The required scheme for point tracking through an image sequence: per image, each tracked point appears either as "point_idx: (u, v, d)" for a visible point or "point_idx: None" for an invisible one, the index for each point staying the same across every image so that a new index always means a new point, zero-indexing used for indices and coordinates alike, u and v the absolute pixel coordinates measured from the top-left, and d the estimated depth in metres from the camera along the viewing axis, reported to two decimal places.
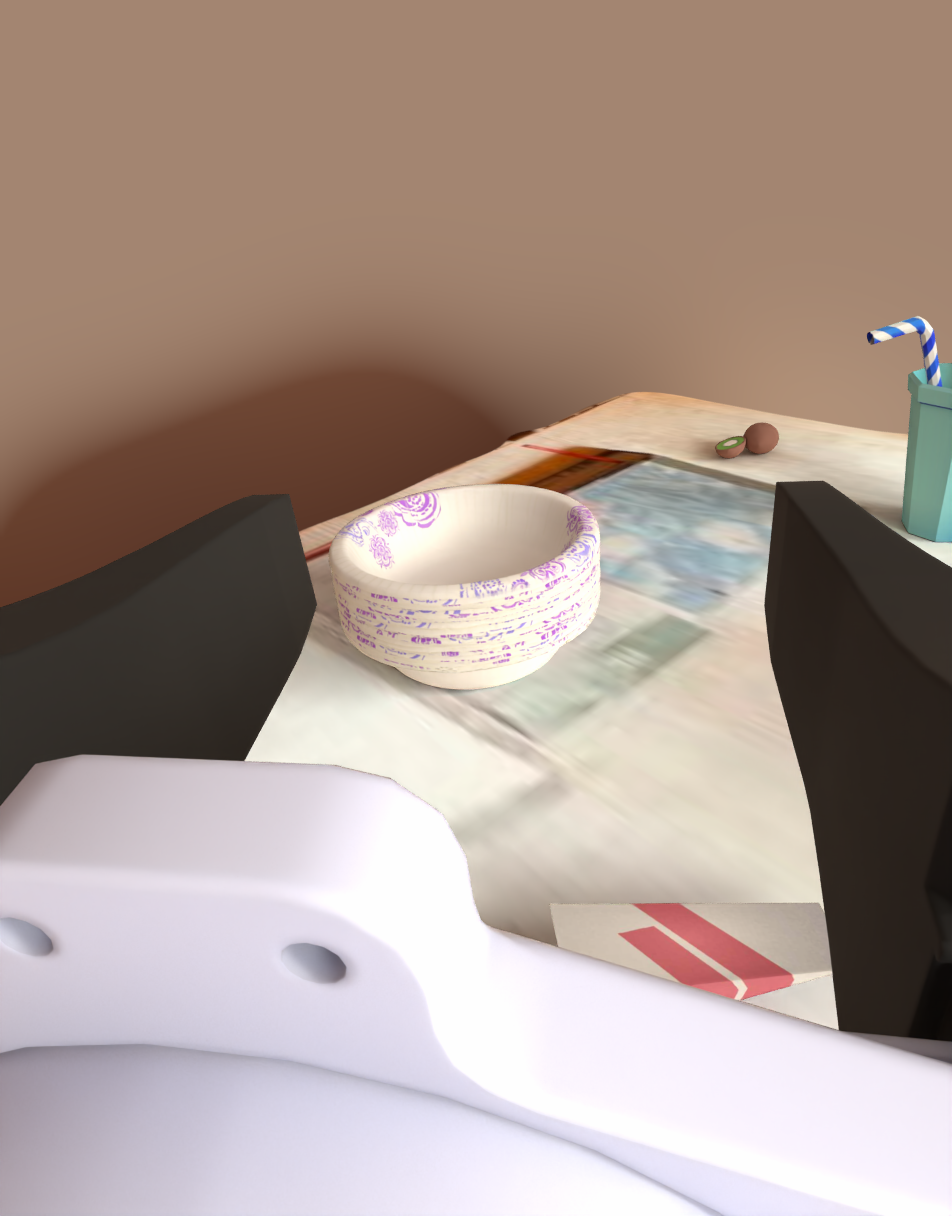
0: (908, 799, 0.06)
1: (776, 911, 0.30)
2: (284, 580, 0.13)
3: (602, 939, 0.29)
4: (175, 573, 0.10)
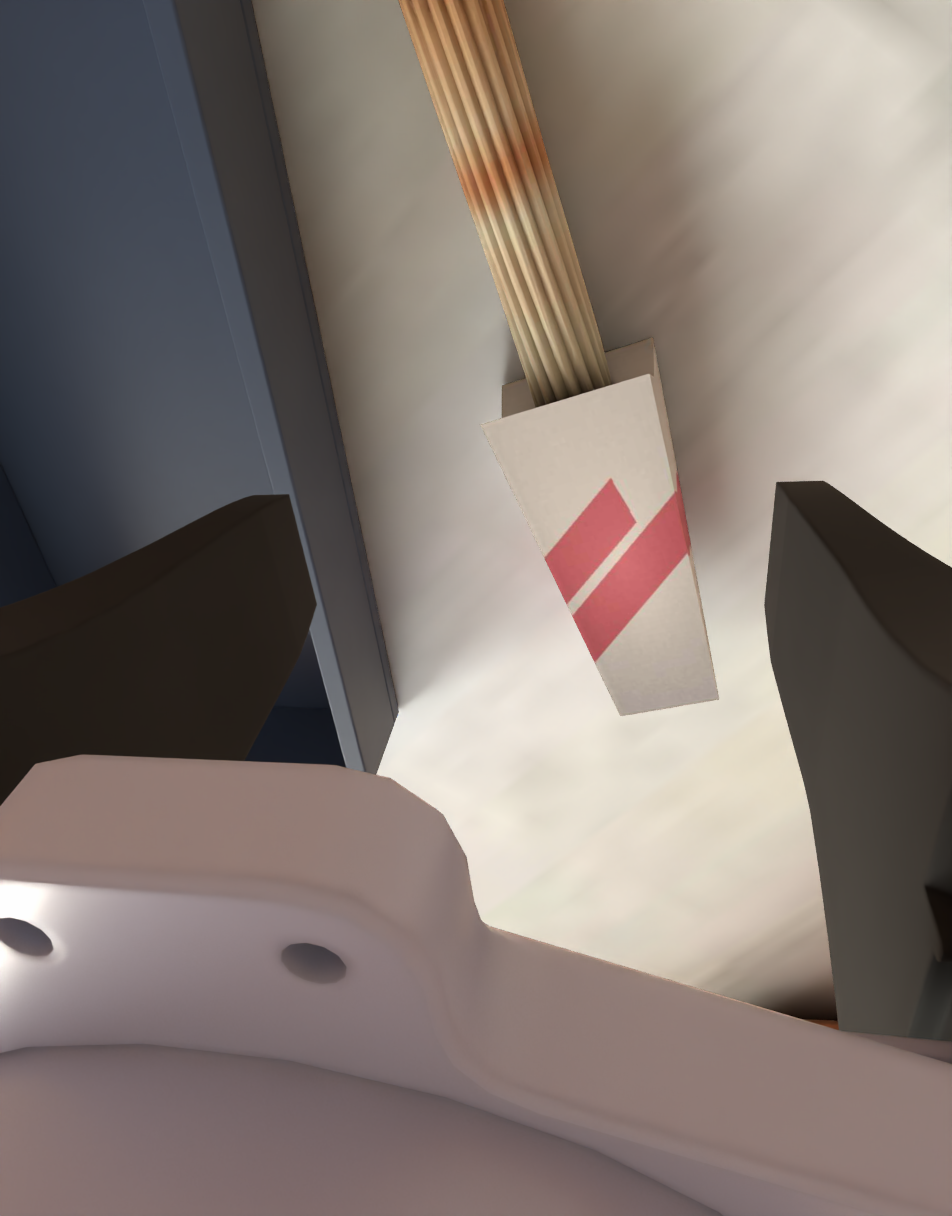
0: (908, 799, 0.06)
1: (695, 658, 0.22)
2: (284, 580, 0.13)
3: (594, 459, 0.19)
4: (175, 574, 0.10)
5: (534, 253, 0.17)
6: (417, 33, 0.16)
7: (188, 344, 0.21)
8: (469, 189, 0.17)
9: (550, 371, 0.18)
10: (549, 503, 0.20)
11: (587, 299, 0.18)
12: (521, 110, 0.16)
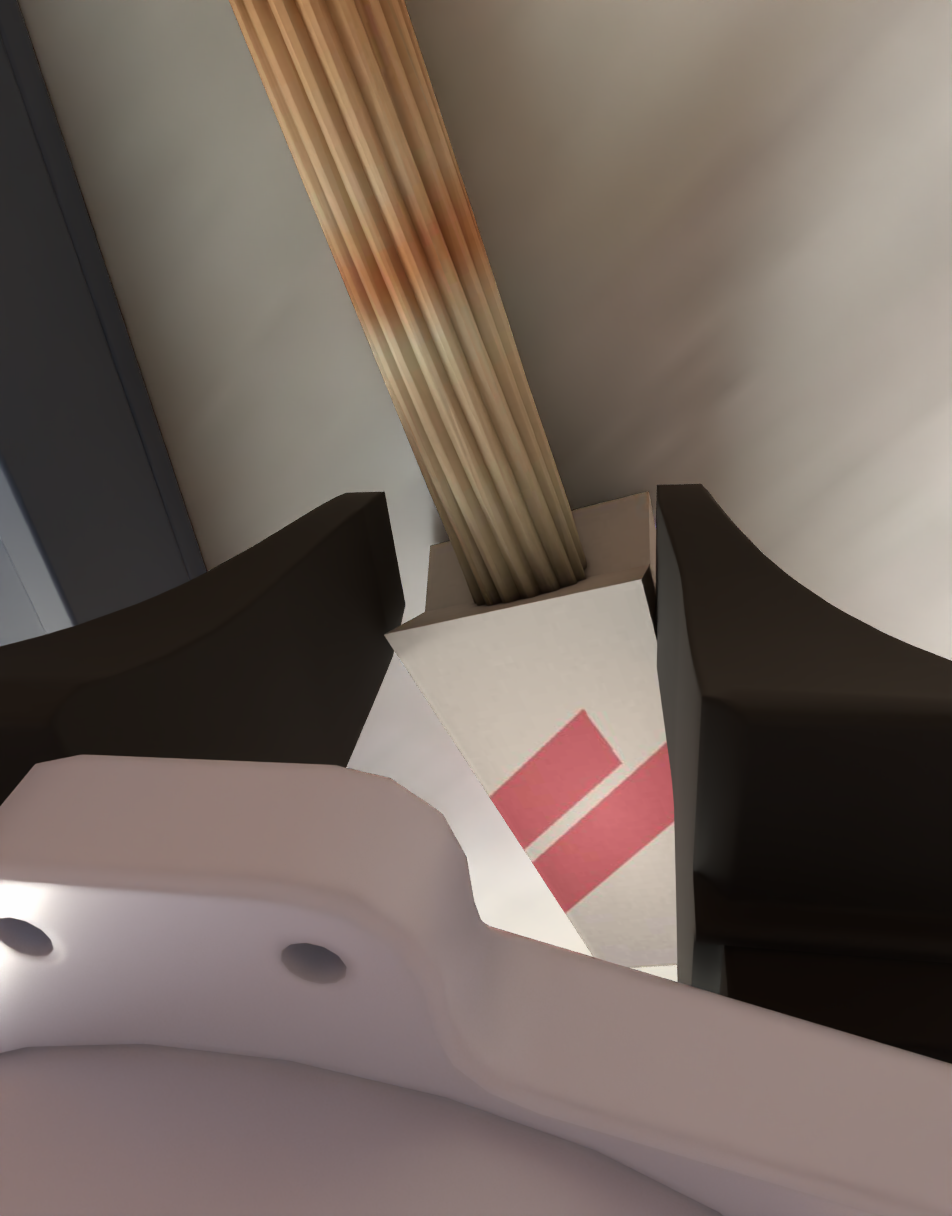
0: (691, 790, 0.07)
1: None
2: (380, 579, 0.12)
3: (557, 684, 0.13)
4: (294, 572, 0.10)
5: (459, 392, 0.11)
6: (250, 37, 0.09)
7: None
8: (352, 289, 0.11)
9: (490, 559, 0.12)
10: (494, 734, 0.13)
11: (547, 450, 0.12)
12: (431, 167, 0.10)
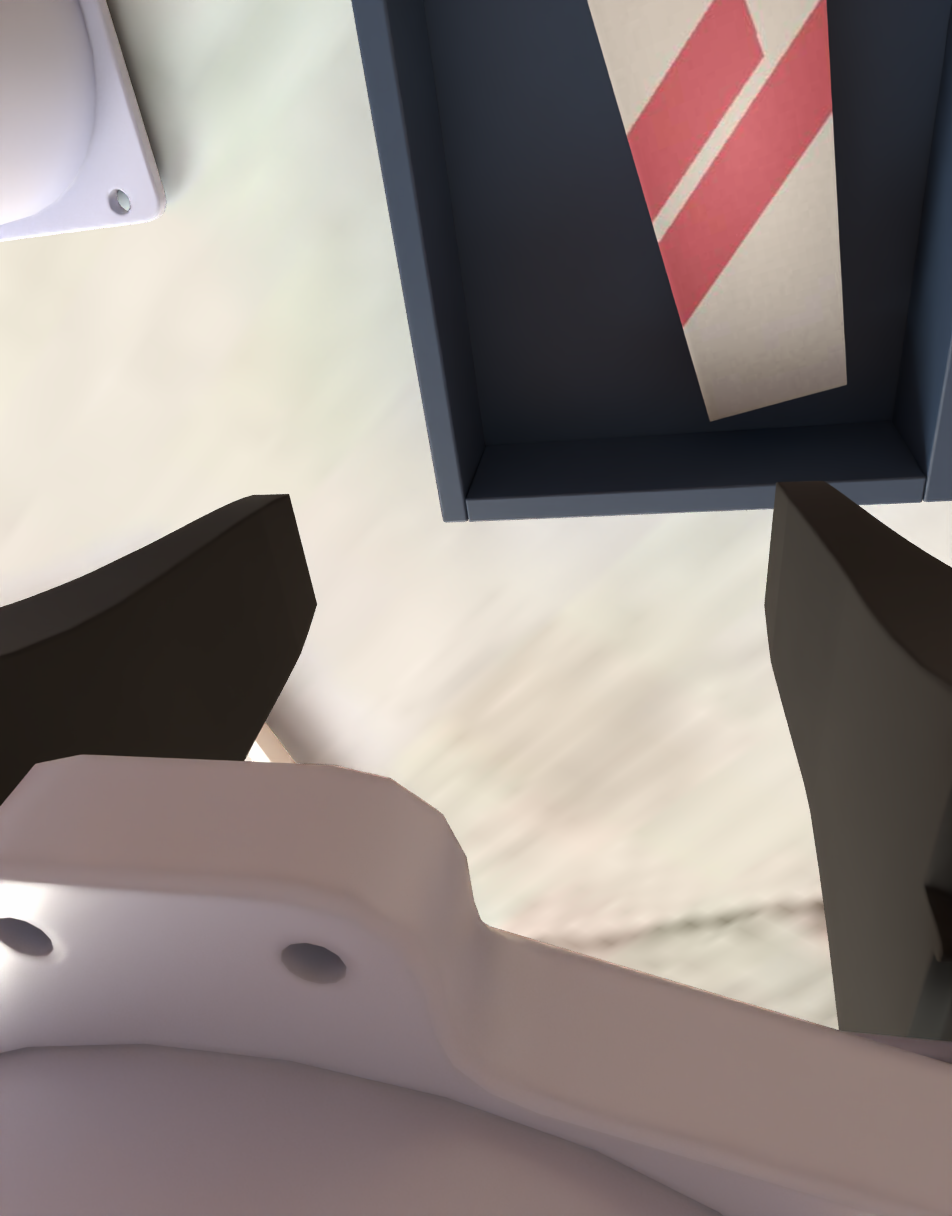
0: (908, 799, 0.06)
1: (822, 311, 0.17)
2: (284, 580, 0.13)
3: None
4: (175, 573, 0.10)
5: None
6: None
7: None
8: None
9: None
10: (641, 25, 0.14)
11: None
12: None
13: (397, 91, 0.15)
